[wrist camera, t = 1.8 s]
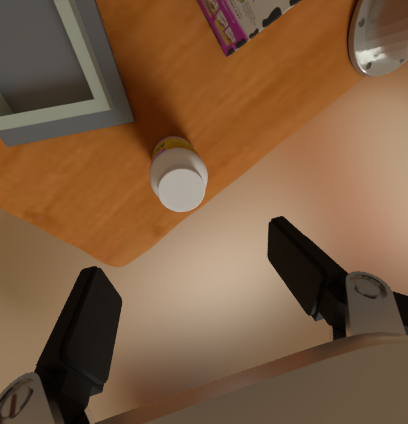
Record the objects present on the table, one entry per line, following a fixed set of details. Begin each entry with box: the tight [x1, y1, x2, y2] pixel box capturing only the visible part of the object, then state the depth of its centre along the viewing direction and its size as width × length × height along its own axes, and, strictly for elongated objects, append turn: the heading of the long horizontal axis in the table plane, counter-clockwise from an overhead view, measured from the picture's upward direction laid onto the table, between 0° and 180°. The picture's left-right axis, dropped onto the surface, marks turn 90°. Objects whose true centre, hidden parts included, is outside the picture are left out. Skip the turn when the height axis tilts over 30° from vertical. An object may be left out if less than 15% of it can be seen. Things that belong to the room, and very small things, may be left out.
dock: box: [0, 0, 135, 147], centre depth 18 cm, size 16×16×4 cm
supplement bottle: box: [149, 136, 208, 212], centre depth 23 cm, size 7×7×13 cm
